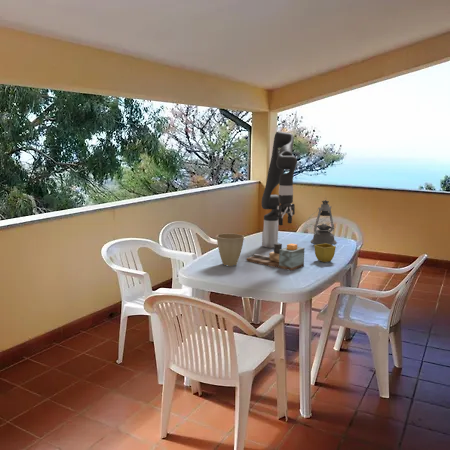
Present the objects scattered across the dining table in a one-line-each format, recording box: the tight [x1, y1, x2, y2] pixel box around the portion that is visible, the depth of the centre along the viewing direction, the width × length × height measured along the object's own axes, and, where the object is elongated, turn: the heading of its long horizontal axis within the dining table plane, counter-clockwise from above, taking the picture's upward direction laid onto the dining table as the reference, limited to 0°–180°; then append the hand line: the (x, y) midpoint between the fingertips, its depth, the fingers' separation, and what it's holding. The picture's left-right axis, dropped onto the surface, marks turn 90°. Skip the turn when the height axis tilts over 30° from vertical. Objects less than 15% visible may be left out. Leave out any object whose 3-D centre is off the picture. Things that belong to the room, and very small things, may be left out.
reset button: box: [286, 243, 298, 250], centre depth 246 cm, size 4×4×3 cm
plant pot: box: [216, 233, 245, 267], centre depth 251 cm, size 15×15×16 cm
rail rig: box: [246, 246, 305, 271], centre depth 254 cm, size 30×12×10 cm, turn 49°
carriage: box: [268, 242, 283, 262], centre depth 252 cm, size 7×6×10 cm
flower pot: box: [313, 243, 337, 263], centre depth 260 cm, size 9×9×9 cm
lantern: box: [305, 198, 338, 245], centre depth 307 cm, size 18×20×30 cm
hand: (285, 224), depth 246 cm, fingers open, 8 cm apart
